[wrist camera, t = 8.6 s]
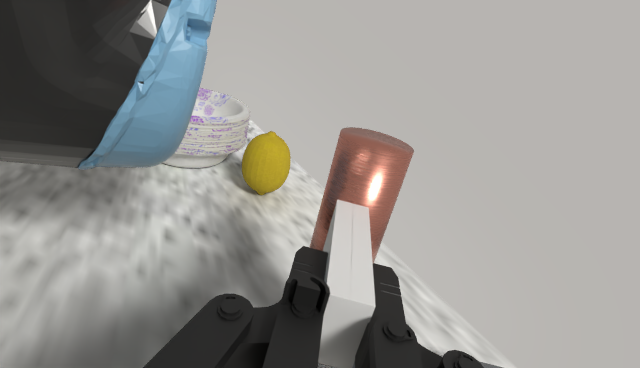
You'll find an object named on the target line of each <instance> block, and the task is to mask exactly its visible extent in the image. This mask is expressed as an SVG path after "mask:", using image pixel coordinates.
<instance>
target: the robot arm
mask: <svg viewBox="0 0 640 368" xmlns="http://www.w3.org/2000/svg"><path fill="white" fill-rule="evenodd" d="M216 2H217V0H0V161H7V162H19V163H30V164H42V165H54V166H65V167H75V168H78V169H84V170H86V169H92V168H94V167H151V166H155V165H158V164H161V163H163V162H165V161H166V160H167V159H169V158H170V157H171V156H172V155H173V154H174V153H175V151H176V150H177V149H178V147H179V146H180V144H181V142H182V140H183V137H184V135H185V133H186V130H187V128H188V125H189V122H190V119H191V116H192V112H193V109H194V106H195V102H196V98H197V95H198V91H199V87H200V83H201V79H202V75H203V70H204V65H205V60H206V56H207V41H206V40H207V38H208V37H209V35H210V30H211V24H212V20H213V17H214V13H215V9H216ZM399 287H400V286H399V280H398V277H397V275H396V274H395V272H394V271H393V269H392V268H390V267H386V266H382V265H378V264H375V263H373V262H372V248H371V234H370V219H369V208H368V207H365V206H361V205H357V204H353V203H349V202H345V201H341V200H337V202H336V206H335V209H334V213H333V216H332V220H331V223H330V227H329V230H328V234H327V237H326V241H325V244H324V248H323V251H321V250H317V249H313V248H309V247H305V246H303V247H302V248H301V249H299V250H298V251H297V252H296V254H295V258H294V262H293V265H292V268H291V272H290V275H289V278H288V280H287V281H286V284H285V288H284V293H283V297H282V299H281V300H280V301H279V302H278V303H276V304H275V305H272V306H269V307H261V308H253V306H252V305H251V303H250V302H249V300H247V299H246V298H244V297H243V296H240V295H236V294H223V295H219V296H216V297H215V298H213V299H212V300H210V301H209V302H208V303H207V304H206V305H205V306H204V307H203V308H202V309H201V310H200V311H199V312H198V313H197V314H196V315H195V316H194V317H193V318H192V319H191V320H190V321H189V322H188V323H187V324H186V325H185V326H184V327H183V328H182V329H181V330H180V331H179V332H178V333H177V334H176V335H175V336H174V337H173V338H172V339H171V340H170V341H169V342H168V343H167V344H166V345H165V346H164V347H163V348H162V349H161V350H160V351H159V352H158V353H157V354H156V355H155V356H154V357H153V358H152V359H151V360H150V361H149V362H148V363H147V364H146V365H145V366H144V367H143V368H317V367H318V363H320V364H324V365H328V366H331V367H335V368H352V367H353V364H354V362H355V368H484V367H483V366H482V364H481V363H480V362H478V361H477V360H476V359H475V358H474V357H472V356H470V355H468V354H466V353H465V352H462V351H457V350H452V351H448V352H447V353H445V354H444V356H443V357H441V356H439V355H437V354H435V353H433V352H431V351H430V350H428V349H426V348H424V347H423V346H421V345H420V344H419V343H418V342H417V338H416V336H415V333H414V331H413V330H412V329H411V328H410V327H409V326H408V325H407V324H406V321H405V315H404V310H403V304H402V298H401V292H400V289H399Z"/></svg>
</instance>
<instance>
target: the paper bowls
mask: <svg viewBox="0 0 640 368" xmlns="http://www.w3.org/2000/svg"><path fill="white" fill-rule="evenodd" d="M249 117H250V110H249V108H248V107H247V105H245V104H244V103H243V102H241V101H239V100H238V99H235V98H233V97H230V96H228V95H225V94H222V93H219V92H215V91H212V90H208V89H203V88H199V91H198V95H197V98H196V102H195V106H194V109H193V112H192V116H191V119H190V122H189V125H188V128H187V130H186V133H185V135H184V137H183V140H182V142H181V144H180V146H179V147H178V149H177V150H176V151H175V153H174V154H173V155H172V156H171V157H170V158H169V159H167V160H166V161H165V162H163V163H164V164H167V165H171V166H176V167H182V168H204V167H210V166H213V165H216V164H218V163H220V162H222V161H223V160H224V159H225V158H226V157H227V155H228V154H229V153H233V152H236V151H238V150H240V149H241V148H243V147H244V145H245V143H246V138H247V132H248V125H249Z"/></svg>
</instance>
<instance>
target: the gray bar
mask: <svg viewBox="0 0 640 368" xmlns="http://www.w3.org/2000/svg"><path fill="white" fill-rule="evenodd" d="M478 362H479V361H478ZM480 363H481V364H482V366H483V367H484V368H502V367H498V366H494V365H490V364H487V363H483V362H480Z"/></svg>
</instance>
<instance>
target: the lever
mask: <svg viewBox="0 0 640 368" xmlns="http://www.w3.org/2000/svg"><path fill="white" fill-rule="evenodd" d="M413 152H414V150H413V148H412V147H411V146H409V145H408V144H406V143H404V142H403V141H401V140H399V139H397V138H394V137H392V136H389V135H386V134H383V133H380V132H376V131H372V130H368V129H362V128H344V129H342V130H341V132H340V135H339V139H338V143H337V147H336V151H335V154H334V158H333V162H332V165H331V169H330V173H329V177H328V180H327V184H326V188H325V191H324V195H323V199H322V203H321V206H320V210H319V214H318V218H317V221H316V225H315V229H314V233H313V236H312V240H311V244H310V248H313V249H317V250H321V251H323V248H324V244H325V241H326V237H327V234H328V230H329V227H330V223H331V220H332V216H333V213H334V209H335V206H336V202H337V200H341V201H345V202H349V203H353V204H357V205H361V206H365V207H368V208H369V219H370V234H371V248H372V262H373V263H374V261H375V258H376V255H377V252H378V249H379V247H380V244H381V241H382V238H383V236H384V233H385V230H386V227H387V224H388V222H389V219H390V216H391V213H392V211H393V208H394V205H395V202H396V200H397V197H398V194H399V191H400V188H401V186H402V183H403V180H404V177H405V174H406V172H407V169H408V166H409V163H410V161H411V158H412V155H413ZM352 368H355V362H354V364H353V367H352Z"/></svg>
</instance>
